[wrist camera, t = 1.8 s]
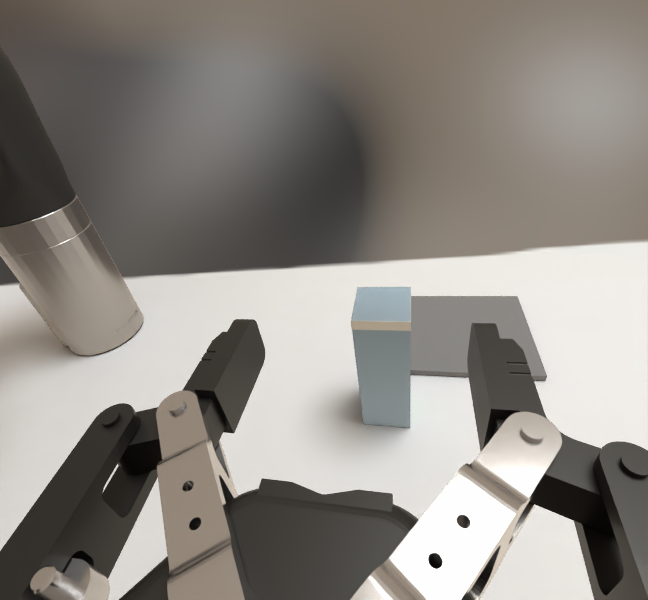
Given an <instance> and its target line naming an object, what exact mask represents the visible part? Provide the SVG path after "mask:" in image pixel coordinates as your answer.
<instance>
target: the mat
mask: <svg viewBox="0 0 648 600" xmlns="http://www.w3.org/2000/svg"><path fill="white" fill-rule="evenodd" d="M472 323H495V324H496V325H497V329H498V332H499V336H500V338H501V339H513V340H514V341H515V342H516V343H517V344H518V345H519V346H520V347H521V348H522V349H523V351H524V354H525V357H526V359H527V362H528V363H527V364H528V365H529V368H530V371H531V376H532V377H533V380H542V381H546V378H547V375H546V372H545V370H544V367H543V364H542V362H541V359H540V356H539V353H538V351H537V348H536V345H535V343H534V340H533V337H532V335H531V332H530V329H529V326H528V324H527V321H526V318H525V316H524V313H523V310H522V308H521V305H520V302H519V299H518V297H517V296H411V332H410V374H414V375H435V376H456V377H469V375H468V367H467V356H468V347H469V339H470V331H471V325H472Z"/></svg>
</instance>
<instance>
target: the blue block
mask: <svg viewBox="0 0 648 600" xmlns="http://www.w3.org/2000/svg"><path fill="white" fill-rule="evenodd" d="M351 327H352V332H353V340H354V349H355V357H356V365H357V374H358V382H359V390H360V398H361V407H362V415H363V423H364V424H368V425H381V426H394V427H406V428H410V332H411V287H357V291H356V297H355V302H354V307H353V312H352V317H351Z"/></svg>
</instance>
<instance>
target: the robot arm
mask: <svg viewBox="0 0 648 600" xmlns="http://www.w3.org/2000/svg"><path fill="white" fill-rule="evenodd" d="M0 256H1V257H2V258H3V260H4V261H5V263H6V264H7V265H8V266H9V268H10V269H11V271H12V272H13V273H14V275H15V276H16V277H17V278H18V280H19V281H20V282H21V283H20V285H19V286H20V289H21V291H22V292H23V293H24V294H25V296H26V297H27V298H28V300H29V301H30V302H31V304H32V305H33V306H34V308H35V309H36V310H37V311H38V313H39V314H40V315H41V317H42V318H43V319H44V321H45V322H46V323H47V325H48V326H49V327H50V329H51V330H52V331H53V332H54V334H55V335H56V336H57V338H58V339H59V340H60V342H61V343H62V344H63V346H69V348H70V349H71V350H72V351H73V352H74V353H75V354H78V355H95V354H99V353H103V352H106V351H108V350H111V349H113V348H115V347H117V346H119V345H121V344H122V343H124V342H126V341H127V340H128V339H130V338H131V337H132V336H133V335H134V334H135V333H136V332H137V331H138V330H139V328H140V327H141V325H142V323H143V315H142V313H141V311H140V309H139V307H138V306H137V304H136V302H135V300H134V298H133V296H132V295H131V293H130V291H129V289H128V287H127V285H126V284H125V282H124V280H123V278H122V276H121V275H120V273H119V271H118V269H117V267H116V266H115V264H114V262H113V260H112V258H111V256H110V255H109V253H108V251H107V249H106V248H105V246H104V244H103V242H102V240H101V238H100V237H99V235H98V233H97V231H96V229H95V228H94V226H93V224H92V222H91V221H90V219H89V217H88V215H87V213H86V212H85V210H84V208H83V206H82V204H81V202H80V201H79V199H78V197H77V196H76V193H75V192H74V190H73V188H72V186H71V184H70V182H69V180H68V177H67V175H66V172H65V170H64V167H63V164H62V162H61V160H60V158H59V156H58V154H57V152H56V150H55V148H54V146H53V144H52V142H51V140H50V138H49V137H48V135H47V132H46V130H45V129H44V126H43V124H42V122H41V120H40V118H39V116H38V114H37V112H36V110H35V108H34V106H33V104H32V101H31V99H30V97H29V95H28V93H27V91H26V89H25V87H24V85H23V83H22V81H21V79H20V77H19V75H18V73H17V71H16V70H15V68H14V66H13V65H12V63H11V61H10V60H9V58H8V56H7V55H6V54H5V52H4V51H3V50H2V48H1V47H0ZM264 360H265V348H264V344H263V341H262V338H261V335H260V332H259V329H258V326H257V323H256V321H255V320H248V319H236V320H234V321H233V323H232V325H231V326H230V328H229V330H228V331H227V332H222V333H221V334H220V335H219V336H217V337H216V338H215V339H214V340H213V341H212V343H211V344H210V346H209V347H208V349H207V352H206V353H205V354H204V356H203V357H202V361H200V362H199V364H198V366H197V367H196V369H195V371H194V372H193V374H192V376H191V377H190V379H189V381H188V382H187V384H186V385H185V387H184V389H183V390H182V391H179V392H176V393H173V394H171V395H170V396H168V397H167V398H166V399H164V400H163V401H162V402H161V404H160V405H159V407H157V408H153V409H148V410H144V411H139V412H135V410H134V409H133V408H132V406H130V405H129V404H124V403H123V404H116V405H113V406H111V407H109V408H107V409H106V410H104V411H103V412H101V413H100V414H99V415H98V416H97V417H96V418H95V420H94V421H93V422H92V424H91V425H90V427H89V428H88V429H87V431H86V432H85V434H84V435H83V436H82V438H81V439H80V441H79V442H78V443H77V445H76V446H75V448H74V449H73V450H72V452H71V453H70V455H69V456H68V457H67V459H66V460H65V462H64V463H63V464H62V466H61V467H60V469H59V470H58V471H57V473H56V474H55V476H54V477H53V478H52V480H51V481H50V483H49V484H48V485H47V487H46V488H45V490H44V491H43V492H42V494H41V495H40V497H39V498H38V499H37V501H36V502H35V504H34V505H33V506H32V508H31V509H30V510H29V512H28V513H27V515H26V516H25V517H24V519H23V520H22V522H21V523H20V524H19V526H18V527H17V529H16V530H15V531H14V533H13V534H12V536H11V537H10V538H9V540H8V541H7V543H6V544H5V545H4V547H3V548H2V550H1V551H0V600H108V597H109V591H110V586H109V581H108V577H109V575H110V573H111V571H112V569H113V567H114V565H115V563H116V561H117V559H118V557H119V555H120V553H121V551H122V549H123V547H124V545H125V543H126V541H127V539H128V536H129V534H130V532H131V530H132V528H133V526H134V524H135V522H136V520H137V518H138V516H139V514H140V512H141V510H142V508H143V506H144V504H145V502H146V500H147V498H148V496H149V493H150V491H151V489H152V487H153V485H154V483H155V481H156V479H157V477H158V481H159V489H160V497H161V505H162V513H163V521H164V530H165V538H166V546H167V554H168V556H167V557H166V558H165V559H164V560H163V561H162V562H161V563H159V564H158V565H157V566H156V567H155V568H154V569H153V570H152V571H151V572H149V573H148V574H147V575H146V576H145V577H144V578H143V579H142V580H140V581H139V582H138V583H137V584H136V585H135V586H134V587H133V588H132V589H130V590H129V591H128V592H127V593H126V594H125V595H124V596H123V597H121V598H120V599H119V600H480V598H481V596H482V595H483V593H484V591H485V590H486V588H487V587H488V585H489V583H490V582H491V580H492V578H493V577H494V575H495V573H496V572H497V570H498V568H499V566H500V564H501V562H502V560H503V558H504V557H505V555H506V553H507V551H508V549H509V548H510V546H511V544H512V543H513V541H514V539H515V538H516V536H517V535H518V533H519V531H520V530H521V528H522V526H523V525H524V523H525V522H526V520H527V518H528V517H529V515H530V513H531V512H532V510H533V509H534V507H535V505H538V506H540V507H543V508H545V509H547V510H550V511H552V512H555V513H557V514H559V515H562V516H564V517H567V518H569V519H571V520H574V523H575V527H576V530H577V534H578V538H579V542H580V546H581V550H582V554H583V557H584V561H585V565H586V569H587V573H588V577H589V581H590V584H591V588H592V592H593V596H594V600H648V451H647V450H646V449H644V448H642V447H640V446H637V445H634V444H631V443H627V442H611V443H608V444H606V445H605V446H604V447H602V449H601V448H598V447H595V446H592V445H589V444H586V443H583V442H580V441H577V440H574V439H572V438H570V437H568V436H566V435H564V434H562V433H561V432H559V430H558V429H557V428H556V426H555V425H554V424H553V423H552V422H550V421H549V420H548V419H547V418H546V415H545V413H544V410H543V407H542V404H541V401H540V398H539V395H538V392H537V389H536V386H535V383H534V380H533V377H532V376H531V371H530V368H529V365H528V364H527V363H528V362H527V359H526V357H525V354H524V351H523V349H522V348H521V347H520V346H519V345H518V344H517V343H516V342H515V341H514V340H513V339H501V338H500V336H499V332H498V329H497V325H496V324H495V323H472V325H471V331H470V339H469V347H468V356H467V367H468V375H469V381H470V388H471V394H472V400H473V406H474V413H475V419H476V425H477V431H478V438H479V444H480V450H481V452H480V454H479V455H478V456H477V458H476V459H475V460H474V461H473V462H472V463H471V464H470V465H469V464H465V465H463V466H462V467H461V468H460V469H459V471H458V472H457V473H456V474H455V476H454V477H453V478H452V479H451V481H450V482H449V483H448V484H447V486H446V487H445V488H444V489H443V491H442V492H441V493H440V494H439V496H438V497H437V498H436V499H435V501H434V502H433V503H432V504H431V506H430V507H429V508H428V509H427V511H426V512H425V513H424V514H423V516H422V517H421V518H420V519H419V520H418V519H417V518H416V517H415V516H413V515H412V514H411V513H409V512H408V511H406V510H404V509H403V508H401V507H399V506H396V505H394V504H393V495H392V494H390V493H381V492H373V491H364V490H354V491H347V492H340V493H334V494H327V495H323V494H319V493H317V492H314V491H312V490H310V489H307V488H305V487H302V486H300V485H298V484H295V483H293V482H287V481H279V480H270V479H262V480H261V483H260V486H259V489H255V490H252V491H248V492H246V493H244V494H241V495H239V496H238V494H237V492H236V489H235V487H234V484H233V481H232V478H231V474H230V471H229V468H228V464H227V461H226V458H225V455H224V451H223V448H222V445H221V442H220V438H221V435H222V433H223V432H227V433H234V432H235V430H236V428H237V425H238V423H239V420H240V418H241V416H242V413H243V411H244V409H245V406H246V404H247V401H248V399H249V397H250V394H251V392H252V390H253V387H254V385H255V382H256V380H257V378H258V375H259V373H260V370H261V368H262V366H263V363H264ZM117 464H118V465H119V466H118V468H117V470H116V472H115V473H114V475H113V477H112V478H111V480H110V482H109V483H108V485H107V487H106V489H105V490H104V492H103V488H104V486H105V484H106V482H107V480H108V479H109V477H110V475H111V474H112V472H113V470H114V468H115V467H116V465H117ZM102 493H103V494H102Z"/></svg>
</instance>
